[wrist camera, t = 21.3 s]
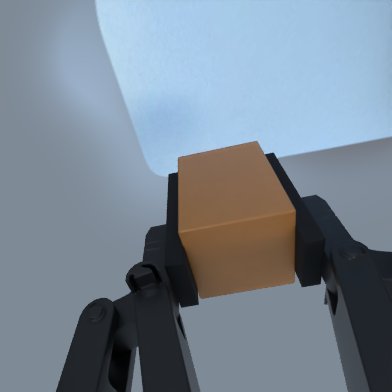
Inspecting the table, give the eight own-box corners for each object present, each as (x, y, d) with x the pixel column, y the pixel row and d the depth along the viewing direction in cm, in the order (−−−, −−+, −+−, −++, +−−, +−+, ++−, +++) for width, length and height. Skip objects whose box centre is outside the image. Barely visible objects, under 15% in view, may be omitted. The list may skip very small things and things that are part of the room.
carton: (193, 216, 18) (200, 300, 13) (177, 156, 15) (177, 232, 10) (262, 203, 17) (295, 283, 12) (257, 139, 15) (296, 209, 10)
